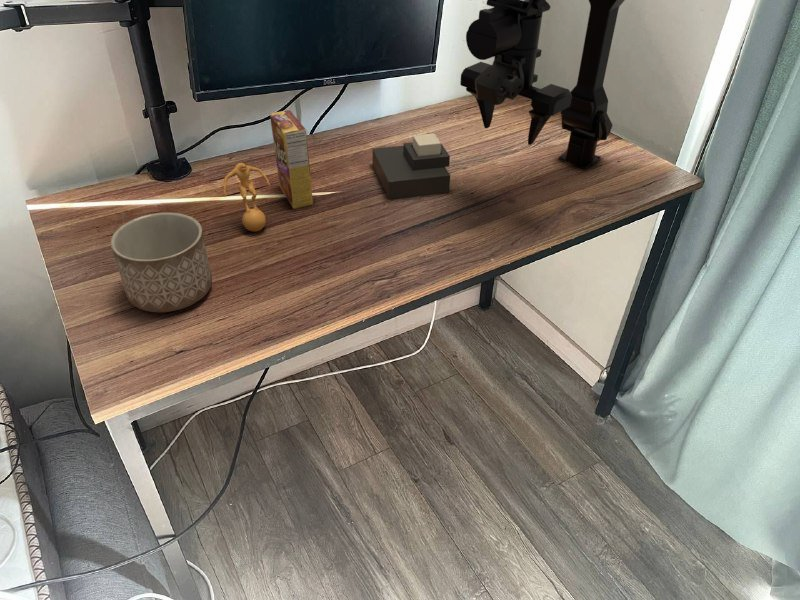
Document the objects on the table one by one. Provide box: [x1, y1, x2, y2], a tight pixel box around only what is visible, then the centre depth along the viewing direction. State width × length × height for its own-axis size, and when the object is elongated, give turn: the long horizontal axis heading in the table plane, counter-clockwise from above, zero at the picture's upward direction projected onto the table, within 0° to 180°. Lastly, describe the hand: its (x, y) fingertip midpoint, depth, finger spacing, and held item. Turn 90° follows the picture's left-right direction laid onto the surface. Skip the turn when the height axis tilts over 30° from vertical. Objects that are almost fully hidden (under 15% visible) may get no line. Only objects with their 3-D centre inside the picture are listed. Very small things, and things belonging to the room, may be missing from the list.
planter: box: [110, 212, 213, 313], centre depth 99 cm, size 13×13×10 cm
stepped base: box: [371, 141, 451, 200], centre depth 129 cm, size 13×14×6 cm
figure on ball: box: [222, 162, 271, 232], centre depth 113 cm, size 8×6×12 cm
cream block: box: [412, 133, 442, 156], centre depth 127 cm, size 4×4×3 cm
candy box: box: [269, 109, 314, 210], centre depth 120 cm, size 9×4×15 cm, turn 25°
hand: (508, 135), depth 114 cm, fingers open, 9 cm apart
